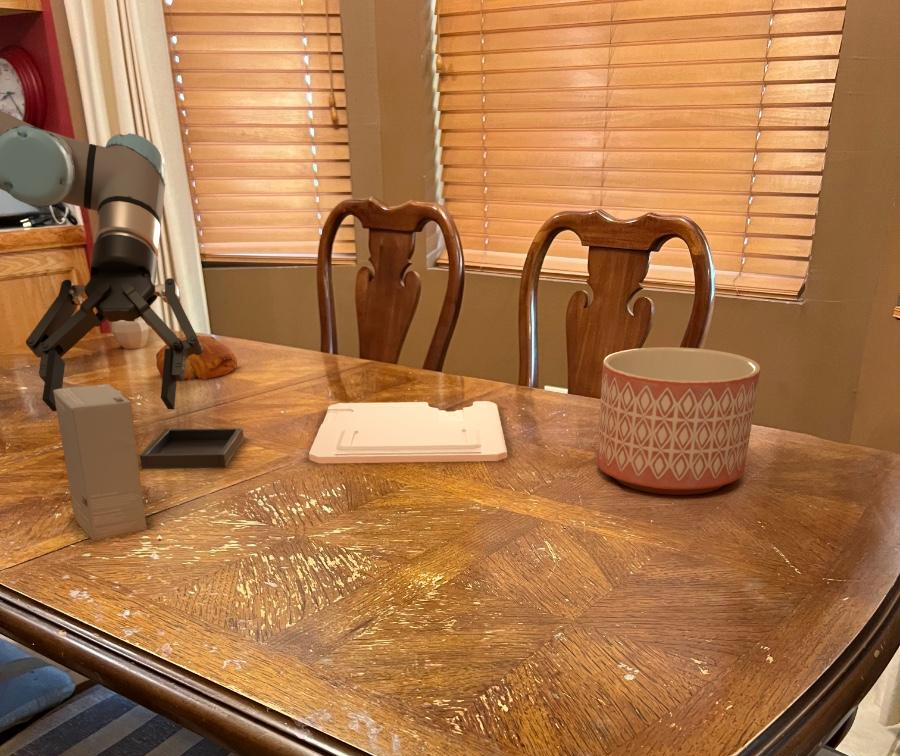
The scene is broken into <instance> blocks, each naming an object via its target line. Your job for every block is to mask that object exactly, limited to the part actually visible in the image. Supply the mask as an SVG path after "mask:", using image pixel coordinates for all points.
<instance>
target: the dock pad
mask: <svg viewBox="0 0 900 756" xmlns="http://www.w3.org/2000/svg"><path fill="white" fill-rule="evenodd" d="M244 437H245V436H244V429H243V427H227V428H226V427H225V428H224V427H223V428H221V427H219V428H217V427H215V428H214V427H213V428H165V429H164V430H163V431H162V432H161V433H160V434H159V435H158V436H157V437H156V438H155V439H154V440H153V441H152V443H151V444H150V445H148V446H147V448H146V449H145V450H144V451H143V452H142V453H141V454H139V459H140V465H141V469H142V470H151V469H152V470H154V469H157V470H159V469H161V470H163V469H164V470H165V469H221V468H222V469H226V468H227V467H228V465H229V463H230V462H231V461H232V459H233V458H234V456H235V454H236V453H237V452H238V450H239V449H240V447H241V446H242V444H243V443H244V441H245V438H244Z"/></svg>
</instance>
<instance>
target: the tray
mask: <svg viewBox="0 0 900 756" xmlns="http://www.w3.org/2000/svg"><path fill="white" fill-rule="evenodd" d="M507 458H508V450H507V445H506V441H505V435H504V430H503V427H502V421H501V417H500V413H499V408H498V404H496V403H495V402H493V401H489V400H477V401H472V405H470V406H466V407H464V406H463V407H462V409H456V410H455V411H447V410H445V409H443V410H442V409H439V407H434V406H430V405H429V402H427V401H404V402H403V401H401V402H400V401H399V402H398V401H397V402H339V403H334V404H331V405H328V407H327V412H326V415H325V416H324V419H323V422H322V423H321V424H320V426H319V429H318V431H317V434H316V436H315V438H314V441H313V443H312V445H311V447H310V450H309V452H308V460H309V461H311V462H314V463H317V464H368V463H369V464H370V463H374V464H375V463H380V464H381V463H441V462H442V463H443V462H445V463H446V462H451V463H452V462H454V463H455V462H498V461H501V460H504V459H507Z"/></svg>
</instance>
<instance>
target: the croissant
mask: <svg viewBox="0 0 900 756" xmlns="http://www.w3.org/2000/svg"><path fill="white" fill-rule="evenodd" d="M197 337H198V340H199V342H200V344H201V346H202V348H203V353H202V354H200V355H196V354H192V355H190V356H188V357H187V360H186V370H185V378H184V380H189V381H190V380H198V381H204V380H209V379H215V378H220V377H222V376H226V375H229V374H230V373H231V372H233V371H234V370H235V369H236V368H237V366H238V359H237V357H236V356H235V354H234V353H233V350H231V348H230V347H229V346H227V345H226V344H224V343H223V342H220V341H218V339H216V338H215V337H214V336H209V335H208V336H207V335H197ZM179 338H180V337H179ZM180 340H181V341H183V340H187V338H186V336H182V337H181V338H180ZM165 349H169V347H168V346H167V345H166V344H165V345H164V346H162V347H161V348H160V350H159V351H157V353H156V355H155V358H156V362H155V363H156V368H157V370H158V373H159V375H161V376H162V377H163V366H164V355H165Z"/></svg>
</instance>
